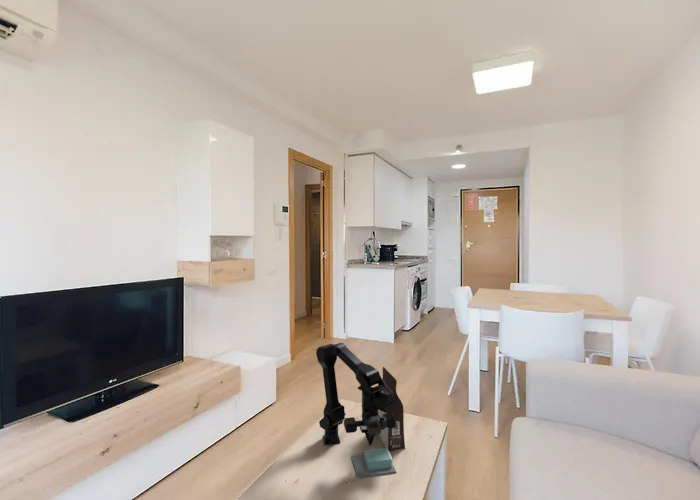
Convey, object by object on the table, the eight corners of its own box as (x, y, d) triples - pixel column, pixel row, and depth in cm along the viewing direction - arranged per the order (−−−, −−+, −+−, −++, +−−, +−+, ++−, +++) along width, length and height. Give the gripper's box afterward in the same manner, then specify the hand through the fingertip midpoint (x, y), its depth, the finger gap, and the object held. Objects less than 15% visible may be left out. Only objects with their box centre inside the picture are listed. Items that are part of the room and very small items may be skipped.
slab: (364, 450, 133) (387, 447, 135) (364, 458, 133) (387, 455, 135) (368, 462, 126) (392, 459, 128) (368, 470, 126) (392, 467, 128)
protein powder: (407, 448, 140) (407, 379, 139) (386, 452, 138) (386, 382, 137) (392, 427, 156) (391, 364, 155) (373, 430, 154) (372, 367, 153)
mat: (351, 457, 135) (351, 455, 135) (386, 452, 138) (386, 451, 138) (357, 478, 123) (357, 476, 123) (396, 472, 126) (396, 471, 126)
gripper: (348, 417, 120) (349, 462, 120) (401, 411, 123) (401, 455, 124) (343, 402, 131) (343, 443, 131) (391, 397, 134) (391, 437, 135)
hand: (370, 445), depth 130 cm, fingers closed
